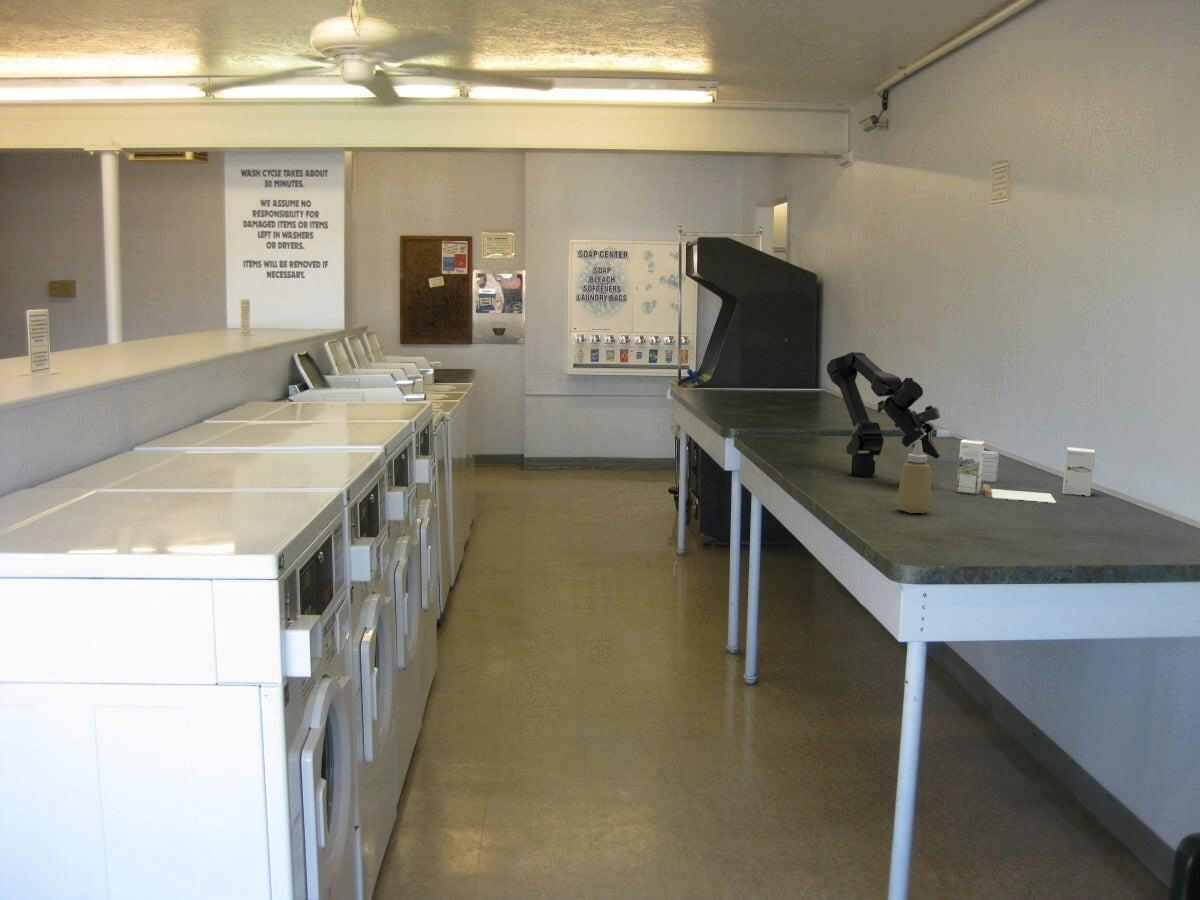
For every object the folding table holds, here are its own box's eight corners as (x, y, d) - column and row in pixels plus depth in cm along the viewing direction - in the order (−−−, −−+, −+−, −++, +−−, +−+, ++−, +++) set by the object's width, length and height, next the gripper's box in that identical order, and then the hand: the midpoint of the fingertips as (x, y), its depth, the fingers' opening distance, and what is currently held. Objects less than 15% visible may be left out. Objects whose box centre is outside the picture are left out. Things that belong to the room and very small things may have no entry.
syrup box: (980, 491, 302) (985, 440, 300) (977, 495, 296) (981, 442, 294) (959, 489, 304) (963, 438, 302) (955, 492, 299) (959, 440, 297)
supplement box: (1061, 494, 303) (1066, 449, 301) (1062, 490, 310) (1067, 446, 308) (1090, 497, 300) (1095, 452, 298) (1090, 493, 307) (1095, 448, 305)
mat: (992, 498, 292) (992, 497, 292) (989, 489, 305) (989, 488, 305) (1056, 503, 288) (1056, 502, 288) (1050, 494, 301) (1050, 493, 301)
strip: (985, 497, 294) (985, 491, 293) (982, 489, 305) (983, 484, 305) (991, 497, 293) (992, 491, 293) (988, 490, 305) (989, 484, 304)
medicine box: (992, 480, 323) (995, 451, 322) (996, 482, 318) (999, 453, 317) (965, 478, 324) (967, 450, 322) (968, 481, 319) (971, 452, 318)
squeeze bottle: (930, 510, 272) (936, 439, 269) (929, 516, 264) (935, 443, 261) (897, 507, 274) (902, 437, 272) (895, 513, 267) (900, 441, 264)
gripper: (917, 398, 294) (955, 442, 291) (929, 394, 311) (966, 435, 308) (885, 425, 299) (923, 468, 296) (899, 419, 315) (935, 460, 312)
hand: (938, 457), depth 303 cm, fingers closed
